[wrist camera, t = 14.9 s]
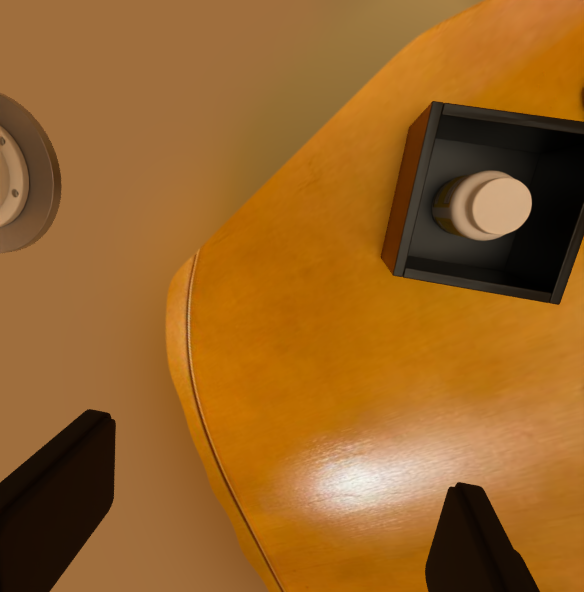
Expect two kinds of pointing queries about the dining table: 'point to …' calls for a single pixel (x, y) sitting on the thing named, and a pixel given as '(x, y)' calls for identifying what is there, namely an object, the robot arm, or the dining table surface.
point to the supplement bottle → (482, 205)
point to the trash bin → (490, 157)
